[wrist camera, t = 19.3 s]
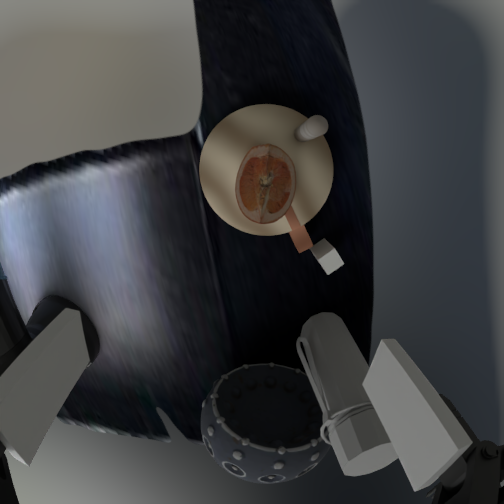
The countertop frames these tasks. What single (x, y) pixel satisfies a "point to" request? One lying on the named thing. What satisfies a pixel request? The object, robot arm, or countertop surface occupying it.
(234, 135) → the beige round piece
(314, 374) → the water bottle
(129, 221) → the countertop surface
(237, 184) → the fruit slice
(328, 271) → the grey rectangular block
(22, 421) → the robot arm
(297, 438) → the grey dotted bowl
